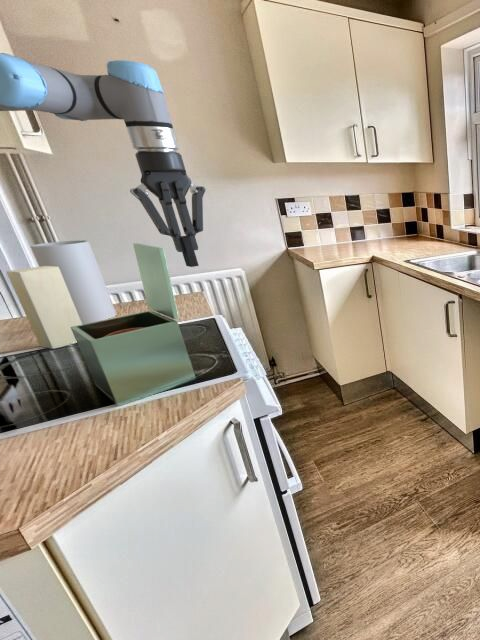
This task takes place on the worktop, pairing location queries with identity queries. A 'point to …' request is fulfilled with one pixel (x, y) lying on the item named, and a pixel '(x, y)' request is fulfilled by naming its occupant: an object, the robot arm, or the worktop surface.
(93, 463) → the worktop surface
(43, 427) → the worktop surface
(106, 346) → the green open box
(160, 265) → the box lid
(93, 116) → the robot arm
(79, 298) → the cylinder vase
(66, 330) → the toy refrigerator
